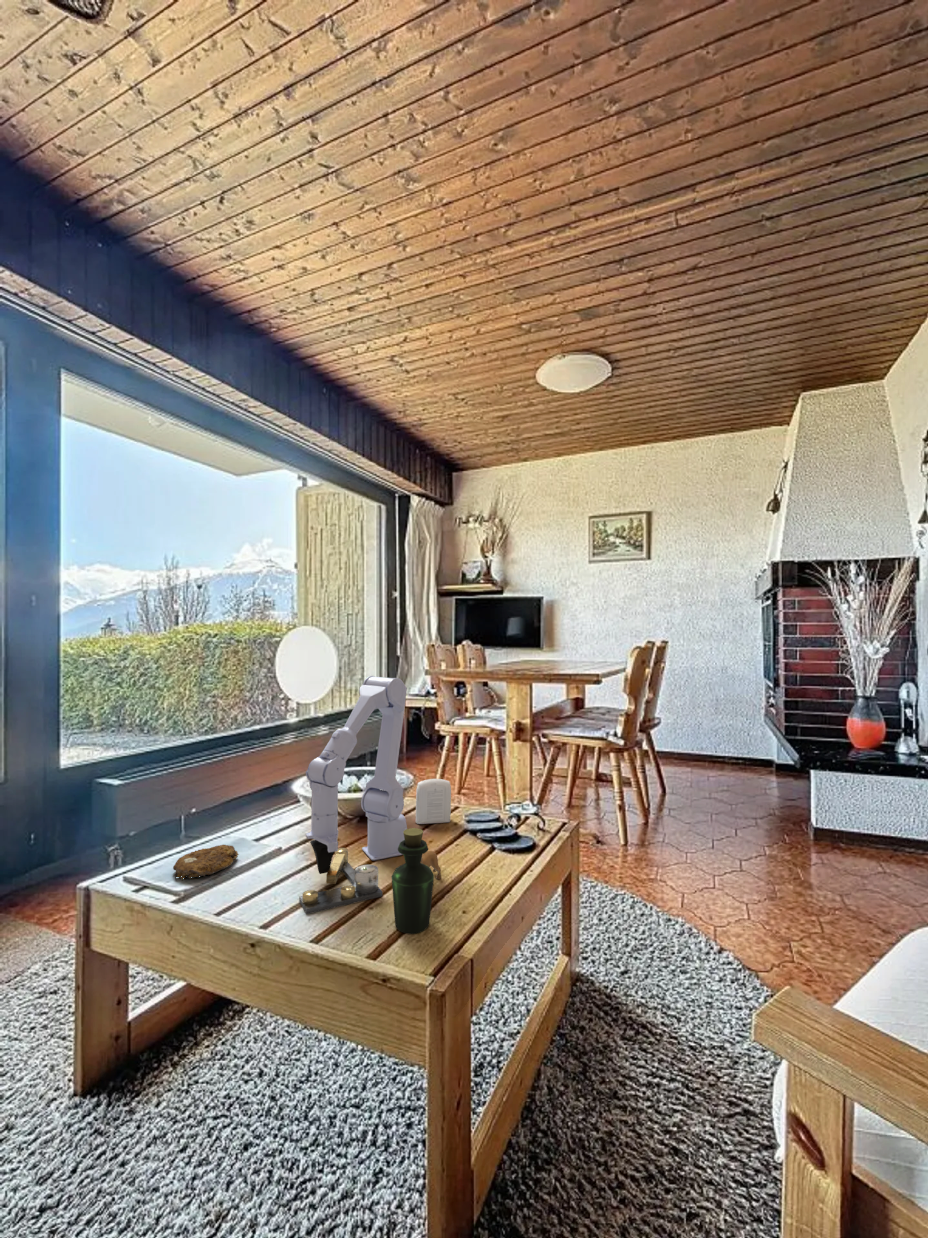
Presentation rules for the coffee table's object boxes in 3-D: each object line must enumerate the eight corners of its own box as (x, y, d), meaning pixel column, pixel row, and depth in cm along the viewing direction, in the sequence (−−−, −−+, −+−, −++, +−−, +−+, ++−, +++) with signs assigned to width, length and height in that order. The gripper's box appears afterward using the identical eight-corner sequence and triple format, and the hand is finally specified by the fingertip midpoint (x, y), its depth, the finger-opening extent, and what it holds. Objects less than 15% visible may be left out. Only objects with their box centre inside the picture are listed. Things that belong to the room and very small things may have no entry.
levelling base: (355, 864, 138) (355, 840, 138) (382, 896, 122) (382, 869, 122) (287, 878, 130) (287, 853, 130) (306, 914, 114) (306, 885, 114)
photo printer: (448, 818, 171) (449, 776, 171) (452, 823, 166) (452, 780, 166) (414, 820, 168) (414, 778, 168) (416, 826, 164) (417, 782, 164)
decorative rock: (214, 854, 145) (163, 881, 131) (213, 837, 145) (161, 863, 131) (250, 859, 140) (200, 887, 126) (249, 842, 140) (199, 869, 126)
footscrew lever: (336, 860, 139) (336, 848, 139) (348, 860, 139) (348, 847, 139) (323, 889, 125) (324, 874, 125) (337, 889, 125) (338, 874, 125)
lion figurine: (423, 904, 119) (423, 861, 119) (399, 901, 120) (399, 858, 120) (444, 874, 133) (445, 835, 133) (422, 871, 135) (423, 832, 135)
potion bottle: (389, 937, 107) (390, 840, 107) (392, 914, 115) (393, 824, 115) (433, 936, 107) (434, 839, 107) (433, 914, 115) (434, 824, 115)
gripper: (299, 805, 133) (298, 863, 133) (314, 825, 121) (314, 890, 121) (329, 800, 137) (328, 858, 137) (347, 820, 124) (346, 883, 124)
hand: (323, 872), depth 129 cm, fingers closed
